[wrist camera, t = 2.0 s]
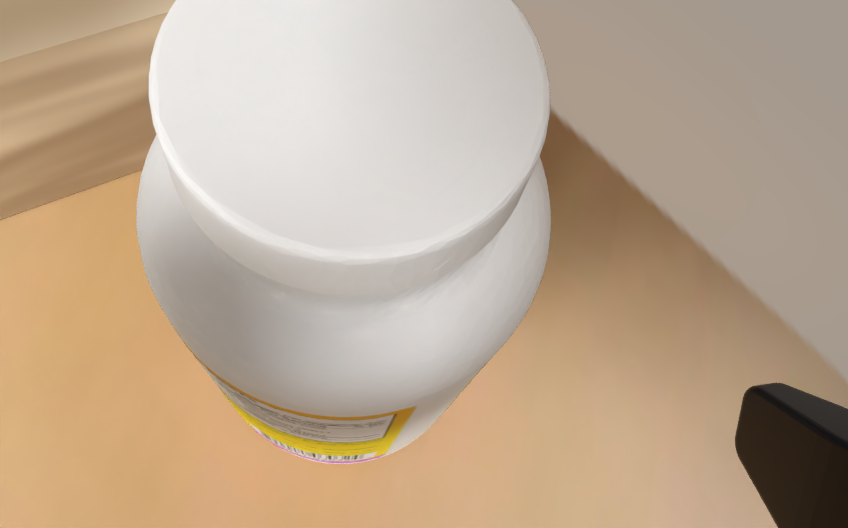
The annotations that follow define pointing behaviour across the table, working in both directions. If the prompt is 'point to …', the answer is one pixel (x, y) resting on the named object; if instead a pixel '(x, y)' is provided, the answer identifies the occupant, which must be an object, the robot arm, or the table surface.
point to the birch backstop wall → (73, 95)
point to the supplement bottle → (345, 206)
